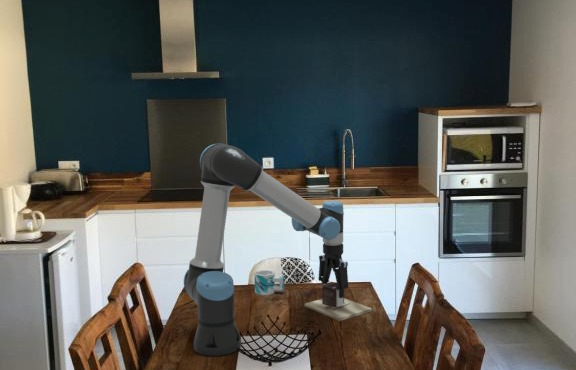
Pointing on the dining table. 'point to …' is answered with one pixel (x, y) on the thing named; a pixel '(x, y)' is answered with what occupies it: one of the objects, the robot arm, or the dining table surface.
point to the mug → (267, 282)
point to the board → (339, 309)
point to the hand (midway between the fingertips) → (333, 302)
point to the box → (329, 294)
